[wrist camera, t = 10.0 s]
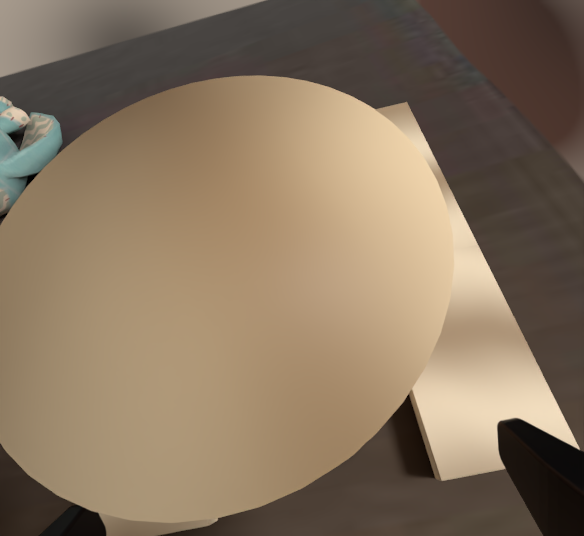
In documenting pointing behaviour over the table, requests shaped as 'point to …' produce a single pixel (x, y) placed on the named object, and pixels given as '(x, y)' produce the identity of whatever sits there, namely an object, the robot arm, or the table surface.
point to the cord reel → (217, 298)
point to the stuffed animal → (24, 150)
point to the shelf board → (454, 366)
